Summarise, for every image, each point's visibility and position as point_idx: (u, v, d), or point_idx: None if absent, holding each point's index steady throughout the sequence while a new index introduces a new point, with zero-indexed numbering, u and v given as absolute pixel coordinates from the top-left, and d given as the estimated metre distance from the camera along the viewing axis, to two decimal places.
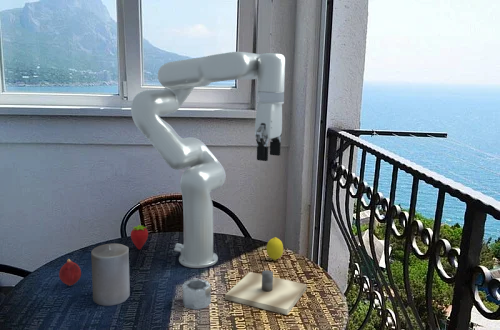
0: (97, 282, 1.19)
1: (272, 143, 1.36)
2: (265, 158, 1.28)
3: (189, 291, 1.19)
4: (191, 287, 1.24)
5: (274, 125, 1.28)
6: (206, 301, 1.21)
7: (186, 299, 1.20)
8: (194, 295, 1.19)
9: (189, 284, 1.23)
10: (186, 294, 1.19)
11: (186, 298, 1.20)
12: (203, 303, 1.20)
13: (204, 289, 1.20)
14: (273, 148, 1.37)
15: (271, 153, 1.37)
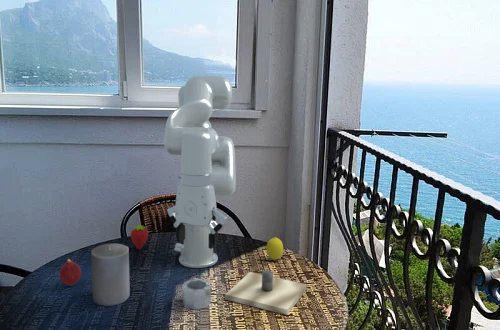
0: (97, 282, 1.19)
1: (180, 229, 1.20)
2: None
3: (189, 291, 1.19)
4: (191, 287, 1.24)
5: None
6: (206, 301, 1.21)
7: (186, 299, 1.20)
8: (194, 295, 1.19)
9: (189, 284, 1.23)
10: (186, 294, 1.19)
11: (186, 298, 1.20)
12: (203, 303, 1.20)
13: (204, 289, 1.20)
14: (181, 234, 1.20)
15: (180, 240, 1.20)
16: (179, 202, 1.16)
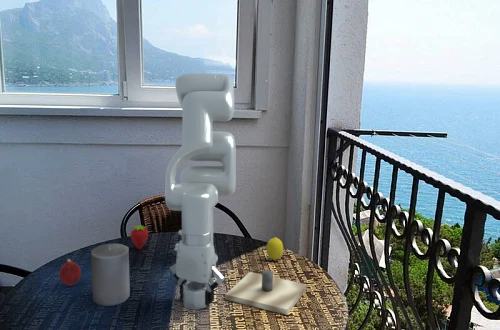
0: (97, 282, 1.19)
1: None
2: None
3: (189, 291, 1.19)
4: (191, 287, 1.24)
5: None
6: None
7: (186, 299, 1.20)
8: (194, 295, 1.19)
9: (189, 284, 1.23)
10: (186, 294, 1.19)
11: (186, 298, 1.20)
12: (203, 303, 1.20)
13: (204, 289, 1.20)
14: None
15: None
16: (180, 259, 1.19)
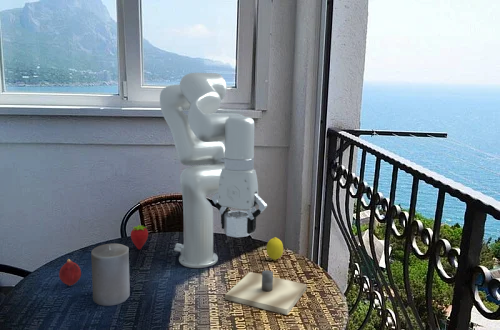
0: (97, 282, 1.19)
1: None
2: None
3: (231, 218, 1.18)
4: None
5: None
6: None
7: (228, 227, 1.19)
8: (236, 222, 1.18)
9: (230, 214, 1.23)
10: (228, 222, 1.19)
11: (228, 226, 1.19)
12: (245, 231, 1.19)
13: (246, 217, 1.19)
14: None
15: None
16: (222, 186, 1.19)
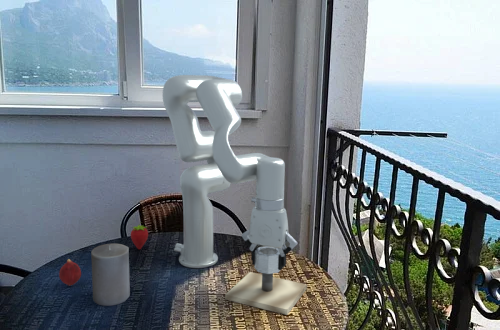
0: (97, 282, 1.19)
1: None
2: None
3: (263, 256, 1.23)
4: (262, 254, 1.28)
5: None
6: None
7: (260, 264, 1.23)
8: (268, 260, 1.22)
9: (260, 250, 1.27)
10: (260, 259, 1.23)
11: (260, 263, 1.23)
12: (276, 268, 1.23)
13: (277, 254, 1.23)
14: None
15: None
16: (253, 225, 1.23)
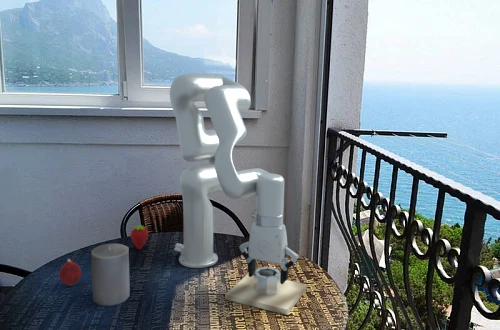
0: (97, 282, 1.19)
1: (252, 264, 1.28)
2: None
3: (262, 278, 1.24)
4: (261, 274, 1.29)
5: None
6: (277, 287, 1.26)
7: (258, 286, 1.25)
8: (267, 282, 1.24)
9: (259, 271, 1.29)
10: (259, 281, 1.25)
11: (258, 285, 1.25)
12: (275, 289, 1.25)
13: (276, 276, 1.25)
14: (252, 269, 1.28)
15: (251, 275, 1.28)
16: (253, 240, 1.24)
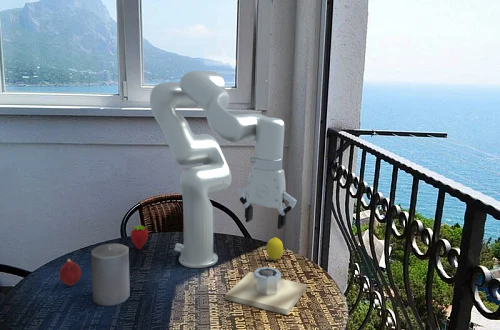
0: (97, 282, 1.19)
1: (249, 209, 1.27)
2: None
3: (262, 278, 1.24)
4: (261, 274, 1.29)
5: None
6: (277, 287, 1.26)
7: (258, 286, 1.25)
8: (267, 282, 1.24)
9: (259, 271, 1.29)
10: (259, 281, 1.25)
11: (258, 285, 1.25)
12: (275, 289, 1.25)
13: (276, 276, 1.25)
14: (249, 214, 1.28)
15: (248, 220, 1.28)
16: (251, 184, 1.23)
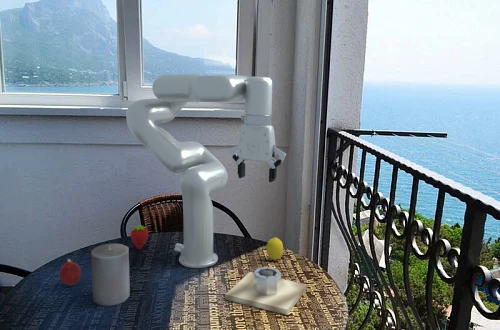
0: (97, 282, 1.19)
1: (242, 166, 1.34)
2: None
3: (262, 278, 1.24)
4: (261, 274, 1.29)
5: None
6: (277, 287, 1.26)
7: (258, 286, 1.25)
8: (267, 282, 1.24)
9: (259, 271, 1.29)
10: (259, 281, 1.25)
11: (258, 285, 1.25)
12: (275, 289, 1.25)
13: (276, 276, 1.25)
14: (242, 171, 1.35)
15: (241, 176, 1.34)
16: (242, 141, 1.30)
